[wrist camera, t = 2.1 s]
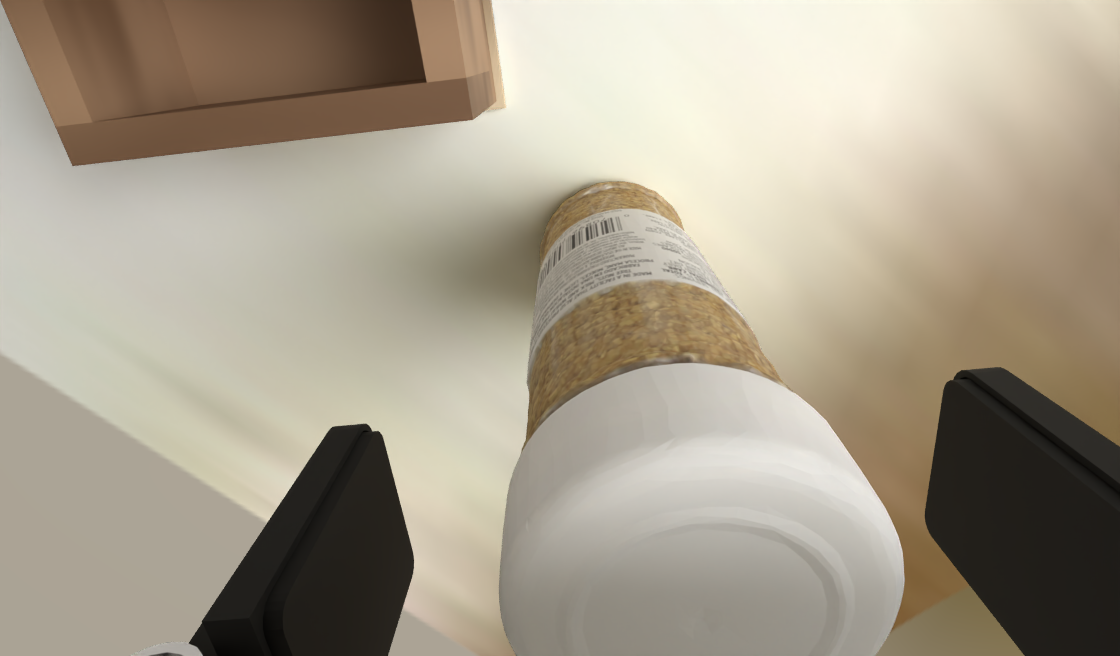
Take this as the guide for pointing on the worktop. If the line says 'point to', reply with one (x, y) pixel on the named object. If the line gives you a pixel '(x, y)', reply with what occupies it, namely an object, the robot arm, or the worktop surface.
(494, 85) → the open wooden box
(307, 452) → the worktop surface
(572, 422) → the sprinkles bottle
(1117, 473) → the robot arm
